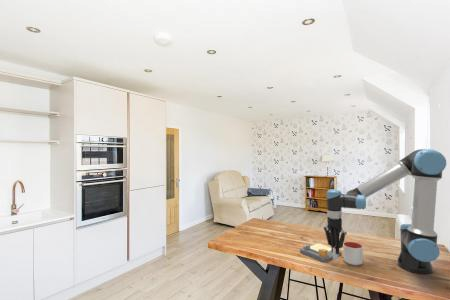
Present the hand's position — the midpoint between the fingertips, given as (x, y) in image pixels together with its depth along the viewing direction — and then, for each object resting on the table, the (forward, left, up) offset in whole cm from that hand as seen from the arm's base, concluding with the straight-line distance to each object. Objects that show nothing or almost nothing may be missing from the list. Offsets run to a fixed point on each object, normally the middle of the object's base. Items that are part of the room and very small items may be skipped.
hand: (335, 258), depth 138 cm
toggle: (+8, 0, -1) cm, 8 cm away
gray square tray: (+14, -6, -3) cm, 16 cm away
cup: (-4, -11, -4) cm, 12 cm away
